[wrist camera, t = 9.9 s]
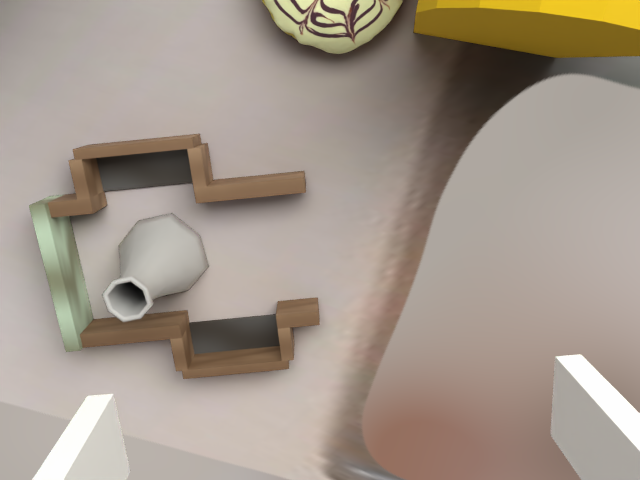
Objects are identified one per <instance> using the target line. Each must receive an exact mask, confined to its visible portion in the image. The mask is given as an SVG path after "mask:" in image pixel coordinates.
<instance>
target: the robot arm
mask: <svg viewBox="0 0 640 480" xmlns="http://www.w3.org/2000/svg"><path fill="white" fill-rule="evenodd" d="M551 436H552V438H553V439H554V441H555V442H556V444H557V445H558V447H559V448H560V449H561V451H562V452H563V454H564V455H565V457H566V458H567V459H568V461H569V463H570V464H571V465H572V467H573V468H574V470H575V471H576V473H577V474H578V476H579V477H580V479H581V480H640V414H639V413H638V412H637V411H636V410H635V409H634V408H633V407H632V406H631V405H630V403H629V402H628V401H627V400H626V399H625V398H624V397H623V396H622V395H621V394H620V393H619V392H618V391H617V390H616V389H615V388H614V387H613V386H612V385H611V384H610V383H609V382H607V380H606V379H605V378H604V377H603V376H601V374H600V373H599V372H598V371H597V370H596V369H595V368H594V367H593V366H592V365H591V364H590V363H589V362H588V361H587V360H586V359H585V358H584V357H583V356H582V355H568V356H556V357H555V371H554V387H553V404H552V420H551ZM129 473H130V468H129V463H128V458H127V454H126V449H125V445H124V440H123V435H122V431H121V426H120V421H119V417H118V412H117V407H116V403H115V398H114V394H105V395H93V396H87V398H86V399H85V401H84V402H83V404H82V405H81V407H80V408H79V410H78V411H77V413H76V414H75V416H74V417H73V419H72V420H71V422H70V423H69V425H68V426H67V428H66V429H65V431H64V432H63V434H62V435H61V437H60V439H59V440H58V442H57V443H56V445H55V446H54V448H53V449H52V451H51V452H50V454H49V455H48V457H47V458H46V460H45V461H44V463H43V464H42V466H41V467H40V469H39V470H38V472H37V474H36V475H35V476H34V478H33V479H32V480H127V477H128V475H129Z"/></svg>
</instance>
